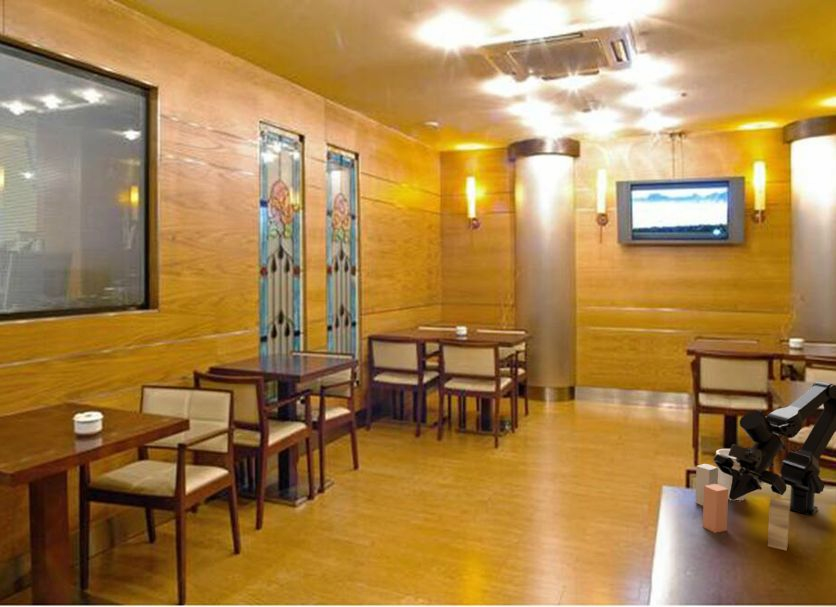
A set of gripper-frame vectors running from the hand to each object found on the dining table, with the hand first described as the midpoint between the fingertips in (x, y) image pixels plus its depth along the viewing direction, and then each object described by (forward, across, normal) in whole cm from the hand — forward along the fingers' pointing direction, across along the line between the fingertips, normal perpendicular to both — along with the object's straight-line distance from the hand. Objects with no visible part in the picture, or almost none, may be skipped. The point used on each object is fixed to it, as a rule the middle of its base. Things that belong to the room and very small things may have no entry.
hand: (731, 498), depth 164 cm
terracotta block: (+9, 0, +1) cm, 9 cm away
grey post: (+1, -13, +9) cm, 16 cm away
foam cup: (-7, -14, +17) cm, 23 cm away
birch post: (+4, +13, +6) cm, 15 cm away
